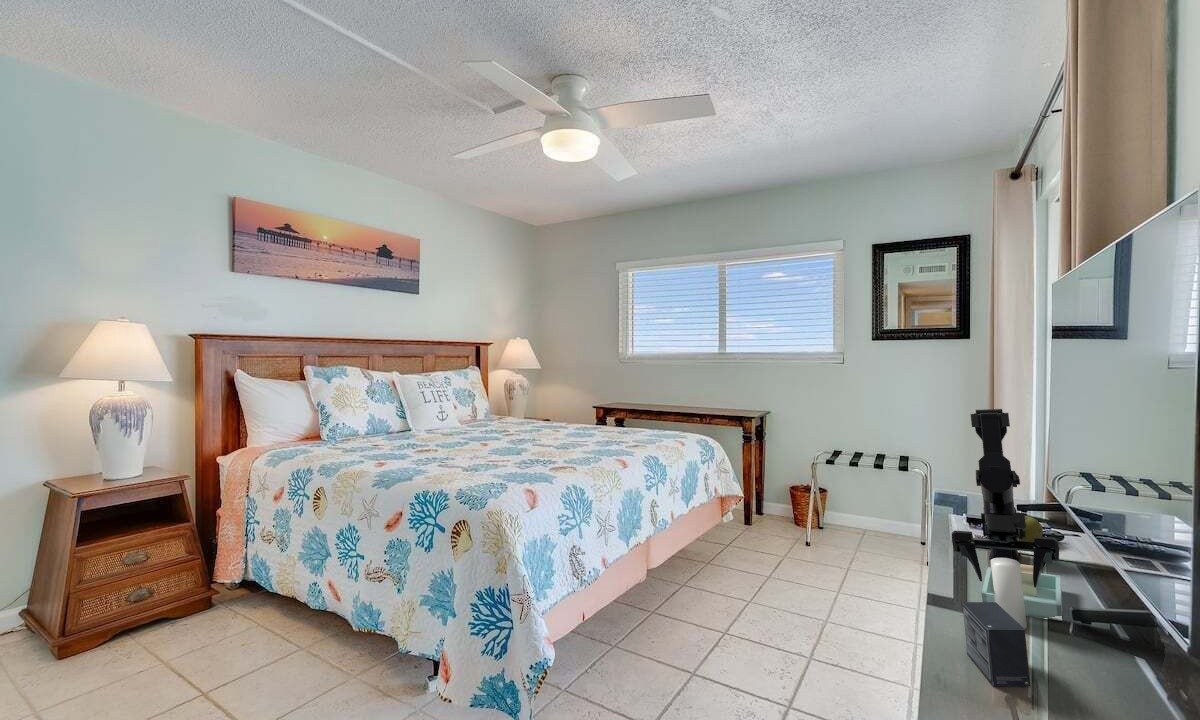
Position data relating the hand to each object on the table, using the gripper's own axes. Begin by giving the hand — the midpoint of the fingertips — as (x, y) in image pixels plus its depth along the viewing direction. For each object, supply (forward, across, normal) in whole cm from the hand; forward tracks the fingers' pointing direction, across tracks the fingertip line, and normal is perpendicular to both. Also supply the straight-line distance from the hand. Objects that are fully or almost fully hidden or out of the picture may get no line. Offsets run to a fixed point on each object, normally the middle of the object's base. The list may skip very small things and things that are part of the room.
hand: (1007, 583), depth 116 cm
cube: (-6, +3, +17) cm, 18 cm away
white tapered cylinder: (+6, 0, +6) cm, 8 cm away
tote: (-3, +3, +14) cm, 15 cm away
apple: (-28, +5, +40) cm, 49 cm away
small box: (+20, -3, -7) cm, 21 cm away
